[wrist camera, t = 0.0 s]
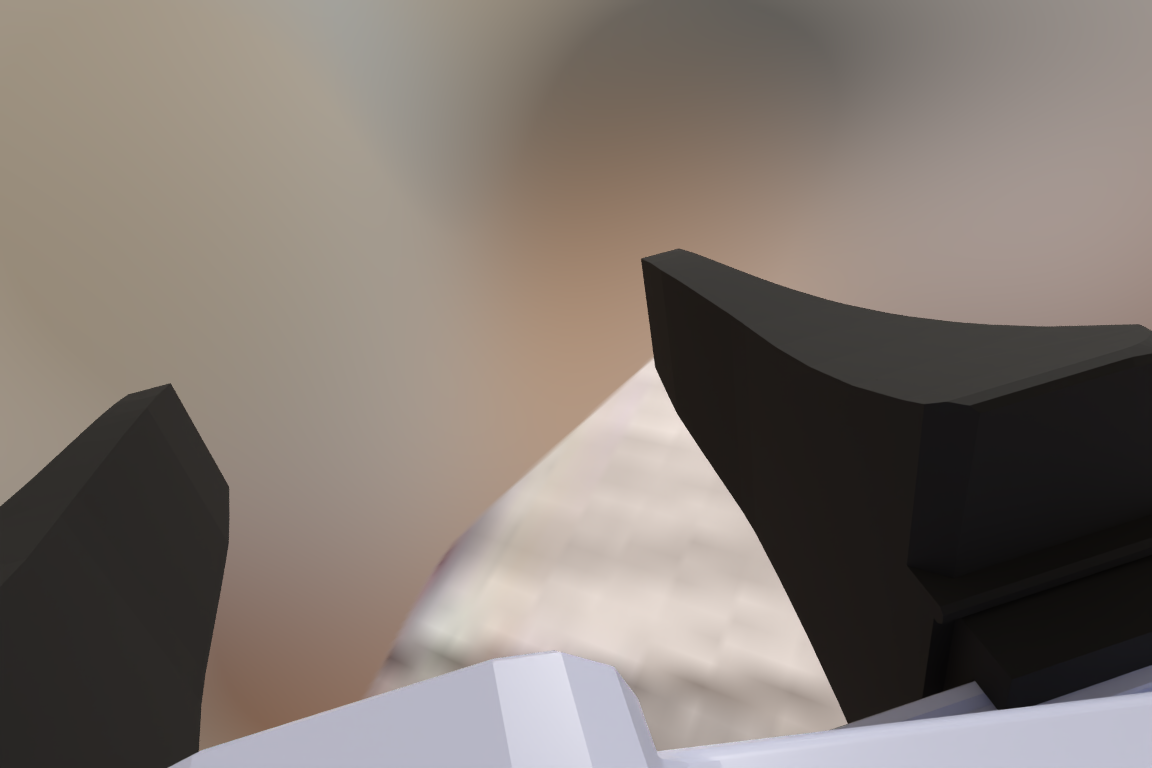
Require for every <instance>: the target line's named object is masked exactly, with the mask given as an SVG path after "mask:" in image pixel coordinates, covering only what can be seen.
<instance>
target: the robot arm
mask: <svg viewBox="0 0 1152 768" xmlns="http://www.w3.org/2000/svg"><path fill="white" fill-rule="evenodd" d="M641 262H642V269H643V277H644V285H645V292H646V300H647V307H648V315H649V322H650V330H651V338H652V346H653V354H654V361H655V368H656V370H657V372H658V374H659V376H660V379H661V381H662V383H663V385H664V387H665V389H666V392H667V394H668V396H669V398H670V400H671V402H672V404H673V406H674V408H675V410H676V412H677V414H678V416H679V417H680V419H681V420H682V422H683V423H684V425H685V427H686V428H687V430H688V431H689V433H690V434H691V436H692V437H693V439H694V440H695V442H696V443H697V445H698V446H699V448H700V449H701V451H702V452H703V454H704V455H705V456H706V458H707V459H708V461H709V462H710V464H711V465H712V467H713V468H714V470H715V471H716V473H717V474H718V476H719V477H720V479H721V480H722V482H723V483H724V485H725V486H726V488H727V489H728V490H729V492H730V493H731V495H732V496H733V498H734V499H735V501H736V502H737V504H738V505H739V507H740V508H741V510H742V511H743V513H744V515H745V516H746V518H747V520H748V521H749V523H750V524H751V526H752V528H753V529H754V531H755V533H756V535H757V536H758V538H759V540H760V542H761V544H762V546H763V548H764V550H765V552H766V554H767V556H768V558H769V560H770V562H771V564H772V565H773V567H774V569H775V571H776V573H777V575H778V577H779V579H780V581H781V583H782V585H783V587H784V589H785V591H786V593H787V595H788V597H789V599H790V601H791V603H792V605H793V607H794V609H795V611H796V613H797V615H798V617H799V619H800V622H801V624H802V626H803V628H804V630H805V632H806V634H807V636H808V638H809V640H810V642H811V644H812V646H813V649H814V651H815V653H816V655H817V657H818V659H819V661H820V664H821V666H822V668H823V670H824V672H825V674H826V676H827V679H828V681H829V683H830V685H831V687H832V689H833V691H834V694H835V696H836V698H837V700H838V702H839V704H840V707H841V709H842V711H843V714H844V716H845V718H846V720H847V723H848V724H846V725H843V726H840V727H838V728H835V729H832V730H829V731H821V732H813V733H805V734H796V735H788V736H780V737H771V738H763V739H755V740H746V741H738V742H730V743H722V744H713V745H705V746H697V747H688V748H680V749H672V750H663V751H656V748H655V746H654V743H653V740H652V737H651V734H650V731H649V729H648V726H647V723H646V720H645V717H644V714H643V712H642V709H641V706H640V703H639V700H638V698H637V697H636V695H635V694H634V693H633V691H632V690H631V689H630V687H629V686H628V685H627V683H626V682H625V681H624V679H623V678H622V677H621V675H620V674H619V673H618V671H617V670H616V669H615V667H614V666H610V665H607V664H603V663H599V662H596V661H592V660H588V659H585V658H581V657H577V656H574V655H570V654H566V653H563V652H559V651H554V650H553V651H546V652H539V653H531V654H524V655H517V656H510V657H502V658H495V659H491V660H488V661H485V662H481V663H478V664H475V665H472V666H469V667H465V668H462V669H459V670H456V671H453V672H450V673H446V674H443V675H440V676H437V677H434V678H430V679H427V680H424V681H421V682H418V683H415V684H411V685H408V686H405V687H402V688H399V689H395V690H392V691H389V692H386V693H383V694H380V695H376V696H373V697H370V698H367V699H364V700H360V701H357V702H354V703H351V704H348V705H345V706H341V707H338V708H335V709H332V710H329V711H325V712H322V713H319V714H316V715H313V716H310V717H306V718H303V719H300V720H297V721H294V722H290V723H287V724H284V725H281V726H278V727H274V728H271V729H268V730H265V731H262V732H259V733H255V734H252V735H249V736H246V737H243V738H240V739H236V740H233V741H230V742H227V743H224V744H220V745H217V746H214V747H211V748H208V749H204V750H201V751H198V750H199V736H200V719H201V703H202V695H203V688H204V680H205V673H206V667H207V662H208V656H209V651H210V646H211V640H212V635H213V629H214V624H215V618H216V613H217V608H218V602H219V597H220V591H221V586H222V580H223V574H224V568H225V563H226V556H227V550H228V543H229V541H228V540H229V486H228V484H227V482H226V481H225V479H224V477H223V475H222V474H221V472H220V470H219V468H218V466H217V465H216V463H215V461H214V459H213V458H212V456H211V454H210V453H209V450H208V449H207V447H206V445H205V443H204V442H203V440H202V438H201V436H200V435H199V433H198V431H197V429H196V427H195V426H194V424H193V422H192V420H191V419H190V417H189V415H188V413H187V412H186V410H185V408H184V406H183V404H182V403H181V401H180V399H179V398H178V396H177V394H176V392H175V390H174V388H173V387H172V385H171V384H166V385H162V386H159V387H155V388H151V389H148V390H144V391H140V392H136V393H132V394H128V395H127V396H126V397H124V398H123V399H121V400H120V401H119V402H117V403H116V404H114V405H113V406H112V407H111V408H109V409H108V410H107V411H106V412H105V413H104V414H102V415H101V416H100V417H99V418H98V419H97V420H95V421H94V422H93V423H92V424H91V425H90V426H89V427H88V428H87V429H86V430H84V431H83V432H82V433H81V434H80V435H79V436H78V437H77V438H76V439H75V440H74V441H73V442H72V443H70V444H69V445H68V446H67V447H66V448H65V449H64V450H63V451H62V452H61V453H60V454H59V455H58V456H56V457H55V458H54V459H53V460H52V461H51V462H50V463H49V464H48V465H47V466H46V467H44V468H43V469H42V470H41V471H40V472H39V473H38V474H37V475H36V476H35V477H34V478H33V479H31V480H30V481H29V482H28V483H27V484H26V485H25V486H24V487H22V488H21V489H20V490H19V491H18V492H17V493H15V494H14V495H13V496H12V497H11V498H10V499H8V500H7V501H6V502H5V503H4V504H3V505H2V506H0V768H1152V331H1151V330H1149V329H1147V328H1146V327H1144V326H1142V325H1138V324H1136V325H1097V326H1059V327H1058V326H1057V327H1036V326H1010V325H987V324H973V323H960V322H950V321H942V320H934V319H925V318H917V317H908V316H903V315H897V314H890V313H885V312H880V311H875V310H870V309H865V308H860V307H856V306H851V305H846V304H842V303H838V302H834V301H830V300H826V299H823V298H820V297H816V296H813V295H810V294H806V293H803V292H799V291H796V290H793V289H789V288H787V287H783V286H780V285H778V284H774V283H772V282H769V281H766V280H763V279H761V278H758V277H755V276H752V275H750V274H747V273H745V272H742V271H739V270H737V269H734V268H732V267H729V266H726V265H724V264H721V263H718V262H716V261H714V260H711V259H708V258H706V257H703V256H700V255H698V254H695V253H692V252H689V251H685V250H682V249H675V250H672V251H668V252H664V253H660V254H657V255H653V256H649V257H645V258H642V259H641Z"/></svg>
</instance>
